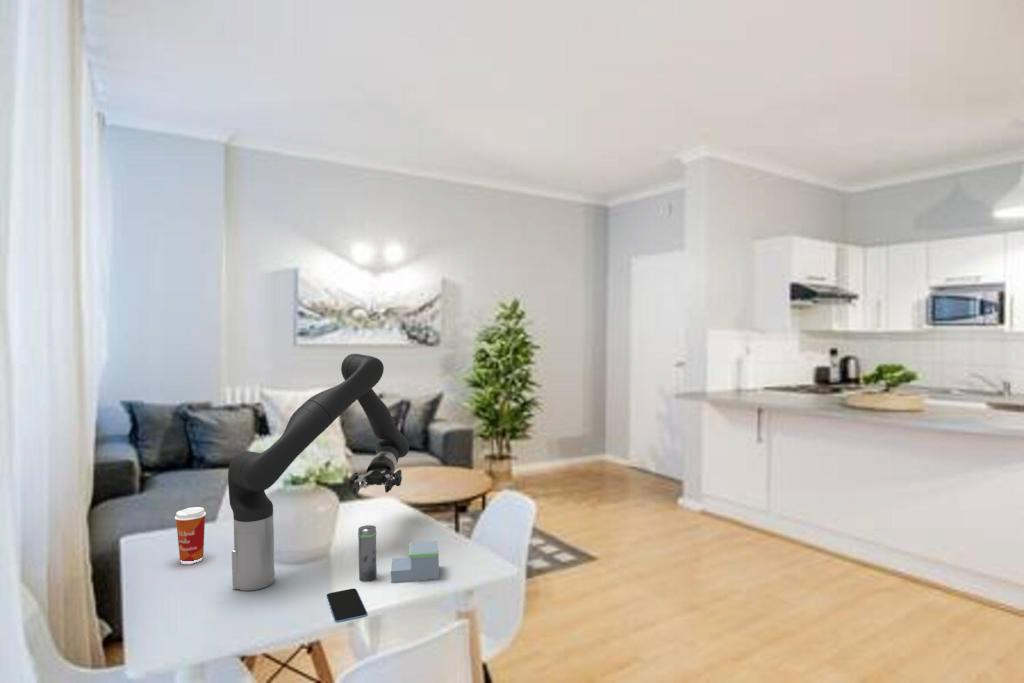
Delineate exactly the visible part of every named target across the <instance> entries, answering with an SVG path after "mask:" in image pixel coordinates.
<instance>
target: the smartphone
mask: <svg viewBox="0 0 1024 683" xmlns="http://www.w3.org/2000/svg"><path fill="white" fill-rule="evenodd" d="M326 596H327V598H326V600H327V599H328V601H327V603H328V602H329V604H328V606H330V607H329V609H330V614H331V616H332V619H333V618H334V619H333V621H334V622H335V623H343V622H344V623H345V622H348V621H352V620H358V619H362V618H365V617H367V616H368V611H367V608H366V607H365V605H364V603H363V601H362V599H361V596H360V594H359V592H358V590H357V589H356V588H349V589H344V590H339V591H333V592H327V594H326Z"/></svg>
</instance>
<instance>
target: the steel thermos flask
mask: <svg viewBox="0 0 1024 683" xmlns="http://www.w3.org/2000/svg"><path fill="white" fill-rule="evenodd" d="M357 532H358V533H357V538H358V578H359V579H358V580H359V581H360V582H363V581H364V582H365V581H366V582H365V583H368V582H367V581H369V582H372V580H373V581H375V580H376V579H377V578H378V577H377V575H378V574H377V572H378V571H377V570H378V569H377V566H378V565H377V564H378V563H377V526H375V525H371V524H368V525H367V524H366V525H361V526H359V527H358V531H357Z"/></svg>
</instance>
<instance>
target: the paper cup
mask: <svg viewBox="0 0 1024 683" xmlns="http://www.w3.org/2000/svg"><path fill="white" fill-rule="evenodd" d="M175 514H176V515H175V516H174V519H175V521H176V522H175V523H176V532H177V543H178V544H177V545H178V553H179V554H178V555H179V561H180V560H182V561H194V560H198V559H200V558H202V557H203V558H204V553H205V552H204V550H205V548H204V546H205V522H206V521H205V520H206V515H207V512H206V511H205V508H204V507H199V506H198V507H196V506H195V507H187V508H185V509H180V510H178V511H177V512H176V513H175Z"/></svg>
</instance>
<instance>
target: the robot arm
mask: <svg viewBox="0 0 1024 683" xmlns="http://www.w3.org/2000/svg"><path fill="white" fill-rule="evenodd" d="M384 370H385V368H384V364H383V361H382V360H381V359H379V358H378V357H375V356H372V355H367V354H360V353H350V354H348V355H347V356H345V357H344V358H343V360H342V362H341V367H340V372H341V375H342V378H343V380H344V381H342V382H341V383H339V384H336V385H334V386H333V387H330V388H327V389H326V390H323V391H321V392H318V393H316V394H314V395H312V396H311V397H309V399H307V400H306V401H305V402H304V403H303V404H301V405H300V406H299V407H298V408H297V409H296V410H295V411H294V412H293V414H292V415H291V416H290V418H289V420H288V422H287V425H286V427H285V429H284V431H283V433H282V434H281V436H280V437H279V439H277V440H276V442H275V441H274V443H273V444H272V445H271V446H269V447H268V448H267V449H265V450H264V451H263V452H255V451H251V450H249V451H242V452H240V453H237V454H236V455H235V456H234V457H233V458H232V460H231V461H230V463H229V466H228V470H227V485H228V500H229V506H230V508H231V510H232V513H233V540H234V541H233V544H234V545H233V546H234V547H233V549H232V550H231V572H232V573H231V574H232V576H231V580H232V590H239V589H240V590H239V591H247V592H248V591H257V590H261V589H264V588H266V587H269V586H271V585H272V584H274V582H275V580H276V578H275V577H276V575H275V573H276V572H275V539H274V538H275V535H274V534H275V532H274V530H275V529H274V525H275V524H274V505H273V502H272V500H271V499H270V498H269V497H268V496H267V494H266V492H265V491H266V490H268V489H270V488H271V487H272V486H273V485H274V484H275V483H277V481H278V480H279V479H280V478H281V477H282V475H283V474H284V473H285V472H286V471H287V469H288V468H289V467H290V465H291V464H292V463H293V462H295V459H297V458H298V456H300V454H302V453H303V452H304V451H305V450H306V449H307V448H308V447H309V446H310V445H311V444H312V443H313V442H314V441H315V440H316V439H317V438H318V437H319V436H320V435H321V434H323V432H325V431H326V430H327V429H328V428H329V427H330V426H331V425H332V424H333V422H335V420H337V418H338V417H340V416H341V415H342V414H343V413H344V412H345V411H346V410H348V409H349V407H350V406H351V405H353V404H354V403H355V402H357V401H358V404H359V406H361V408H362V409H363V412H364V413H365V415H366V418H367V420H368V422H369V425H370V428H371V431H372V432H373V434H374V436H375V438H376V439H378V441H377V442H376V443H375V453H376V454H375V456H374V457H373V458H372V459H371V461H370V463H369V465H368V466H367V469H366V471H365V473H363V474H361V475H360V474H359V473H358V472H354V473H353V474H352V475H351V477H350V478H349V479H348V486H349V488H348V489H350V490H352V492H351V493H353V495H355V496H356V495H358V493H359V491H360V490H361V489H367V488H369V487H370V486H371V487H372V486H374V485H375V486H384V491H385V493H386V494H387V493H389V492H390V491H392V489H393V488H394V486H396V487H400V486H401V484H402V480H403V474H402V473H403V472H402V470H401V469H398V470H397V471H396V469H397V464H398V463H399V460H400V459H401V458H404V457H405V456H407V455H408V453H409V450H410V446H409V442H408V440H407V438H406V437H405V436H404V434H403V433H402V432H401V431H400V430H399V429H398V427H397V426H396V424H395V421H394V419H393V416H392V414H391V412H390V409H389V408H388V406H387V405H386V403H384V401H383V400H382V398H380V397H379V395H377V393H376V392H375V391H374V389H373V388H374V387H375V386H376V385H377V384H378V383H379V382H380V380H382V377H383V374H384Z"/></svg>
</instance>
